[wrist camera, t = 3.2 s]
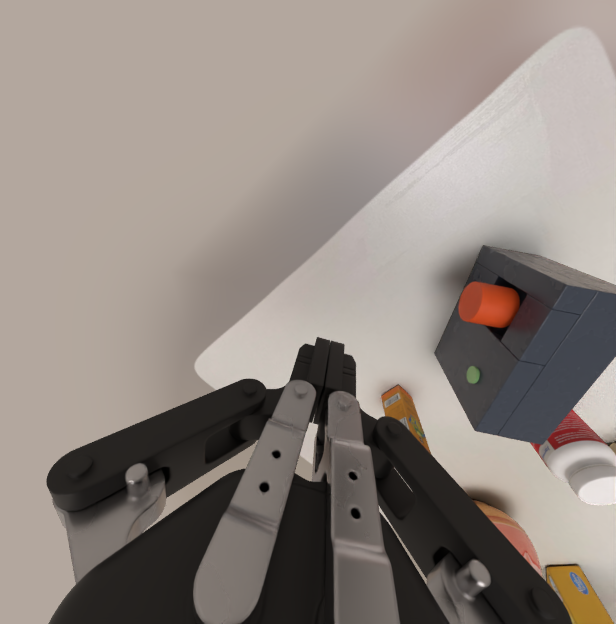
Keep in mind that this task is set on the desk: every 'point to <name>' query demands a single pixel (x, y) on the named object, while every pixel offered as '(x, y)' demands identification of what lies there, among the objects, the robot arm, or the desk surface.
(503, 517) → the vase
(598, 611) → the game box
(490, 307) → the knob
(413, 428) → the supplement box
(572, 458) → the pill bottle
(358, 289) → the desk surface
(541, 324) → the control box
